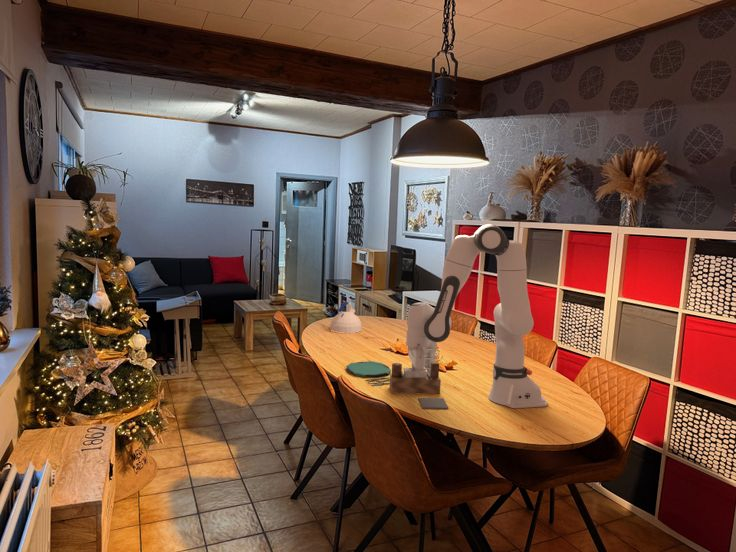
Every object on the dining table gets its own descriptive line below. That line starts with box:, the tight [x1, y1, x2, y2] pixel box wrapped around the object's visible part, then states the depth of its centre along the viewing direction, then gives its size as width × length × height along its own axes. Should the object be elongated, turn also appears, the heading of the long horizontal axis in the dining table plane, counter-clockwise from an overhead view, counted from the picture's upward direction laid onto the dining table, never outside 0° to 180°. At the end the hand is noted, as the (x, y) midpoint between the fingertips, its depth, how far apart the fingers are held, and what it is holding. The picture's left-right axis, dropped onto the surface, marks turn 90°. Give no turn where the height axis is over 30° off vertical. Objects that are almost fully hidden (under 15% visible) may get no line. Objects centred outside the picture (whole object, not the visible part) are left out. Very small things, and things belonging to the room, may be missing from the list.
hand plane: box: [389, 361, 442, 395], centre depth 208 cm, size 20×7×12 cm, turn 93°
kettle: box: [329, 301, 363, 334], centre depth 314 cm, size 20×21×18 cm
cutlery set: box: [346, 360, 392, 387], centre depth 228 cm, size 20×30×2 cm, turn 22°
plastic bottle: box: [424, 339, 438, 374], centre depth 227 cm, size 6×7×20 cm
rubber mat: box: [417, 397, 450, 410], centre depth 194 cm, size 10×10×1 cm
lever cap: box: [403, 367, 427, 378], centre depth 208 cm, size 9×4×4 cm, turn 93°
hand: (415, 373), depth 208 cm, fingers closed on lever cap, 4 cm apart
